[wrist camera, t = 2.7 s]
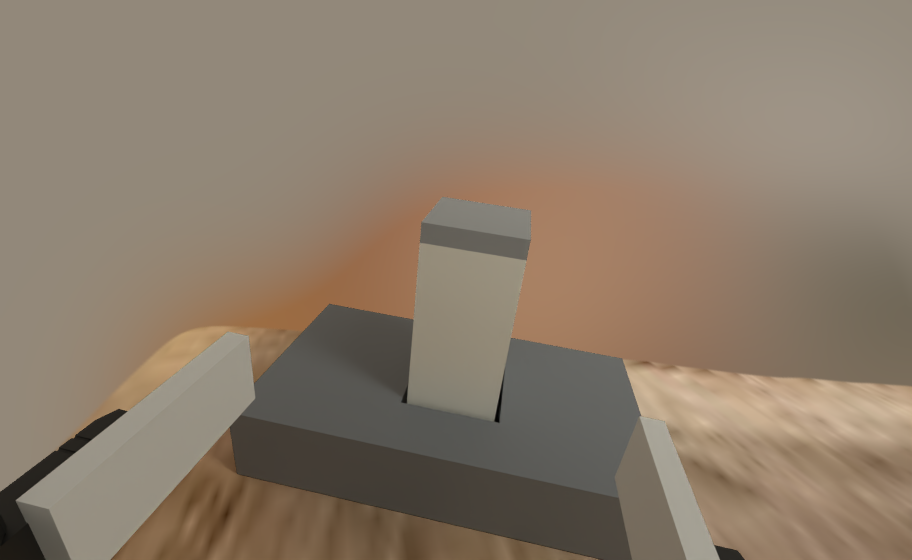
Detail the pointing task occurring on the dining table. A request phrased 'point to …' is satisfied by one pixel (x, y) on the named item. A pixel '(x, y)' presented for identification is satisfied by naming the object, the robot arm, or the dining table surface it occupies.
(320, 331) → the plate with square hole
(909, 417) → the dining table surface
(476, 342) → the plug
